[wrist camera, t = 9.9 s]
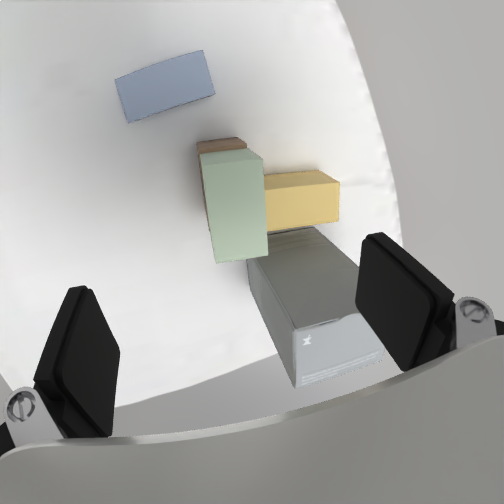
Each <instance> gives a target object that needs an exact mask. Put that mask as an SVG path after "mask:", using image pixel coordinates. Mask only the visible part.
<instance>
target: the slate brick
mask: <svg viewBox="0 0 504 504" xmlns="http://www.w3.org/2000/svg"><path fill="white" fill-rule="evenodd" d="M115 83H116V86H117V90H118V93H119V96H120V99H121V103H122V106H123V109H124V112H125V115H126V119H127V122H128V123H131V122H134V121H137V120H140V119H142V118H145V117H148V116H150V115H153V114H156V113H159V112H162V111H164V110H167V109H170V108H173V107H176V106H179V105H182V104H186V103H189V102H192V101H195V100H199V99H202V98H205V97H209V96H212V95H214V94H215V91H214V87H213V84H212V80H211V77H210V73H209V70H208V66H207V63H206V59H205V56H204V52H203V50H200V51H196V52H193V53H189V54H186V55H182V56H179V57H176V58H172V59H169V60H166V61H163V62H160V63H157V64H154V65H151V66H149V67H146V68H143V69H140V70H138V71H135V72H133V73H130V74H127V75H125V76H123V77H120V78H118V79H115Z"/></svg>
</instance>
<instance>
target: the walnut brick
mask: <svg viewBox="0 0 504 504" xmlns="http://www.w3.org/2000/svg"><path fill="white" fill-rule="evenodd" d="M244 148H247V143H245V142H244V141H242V140H241V139H239V138H238V137H233V138H224V139H216V140H209V141H202V142H197V149H198V157H199V165H200V173H201V180H202V188H203V195H204V202H205V209H206V215H207V221H208V213H207V206H206V198H205V191H204V183H203V175H202V166H201V158H200V154H203V153H210V152H218V151H226V150H235V149H244ZM208 226H209V221H208ZM209 231H210V228H209Z"/></svg>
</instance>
